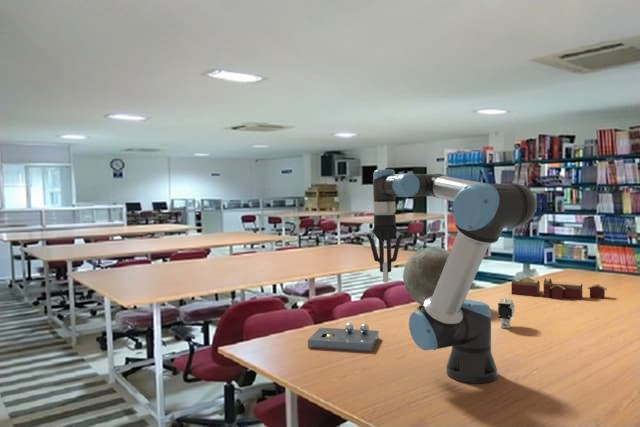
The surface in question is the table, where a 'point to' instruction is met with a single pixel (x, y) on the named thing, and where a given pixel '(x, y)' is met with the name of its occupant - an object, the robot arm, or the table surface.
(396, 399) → the table surface
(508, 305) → the pneumatic valve
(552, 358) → the table surface
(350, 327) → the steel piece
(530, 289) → the toy houses
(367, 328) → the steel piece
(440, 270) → the mottled grey sphere
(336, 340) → the hole plate
